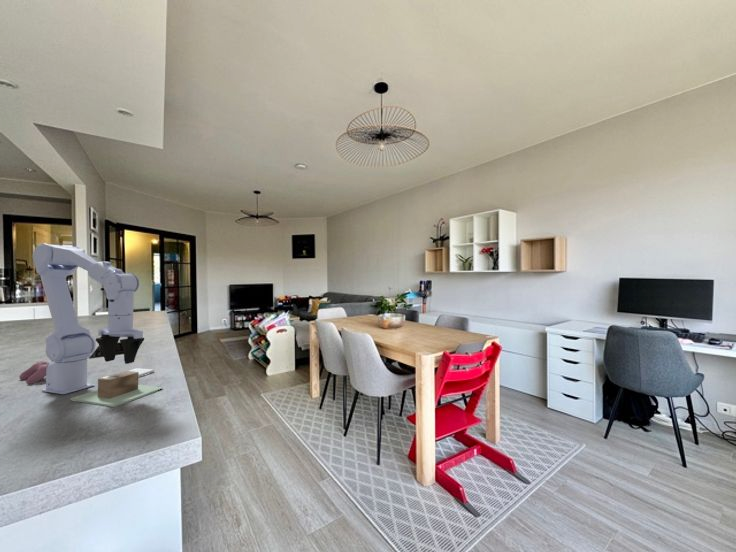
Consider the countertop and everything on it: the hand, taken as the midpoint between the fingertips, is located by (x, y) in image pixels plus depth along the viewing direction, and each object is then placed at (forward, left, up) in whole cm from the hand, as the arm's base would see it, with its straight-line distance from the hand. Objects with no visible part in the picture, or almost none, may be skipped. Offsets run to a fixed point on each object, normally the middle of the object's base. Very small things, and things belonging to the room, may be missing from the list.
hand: (119, 361), depth 89 cm
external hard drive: (-14, +13, -10) cm, 22 cm away
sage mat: (0, 0, -9) cm, 9 cm away
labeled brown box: (0, 0, -9) cm, 9 cm away
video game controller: (-38, +2, -10) cm, 40 cm away
